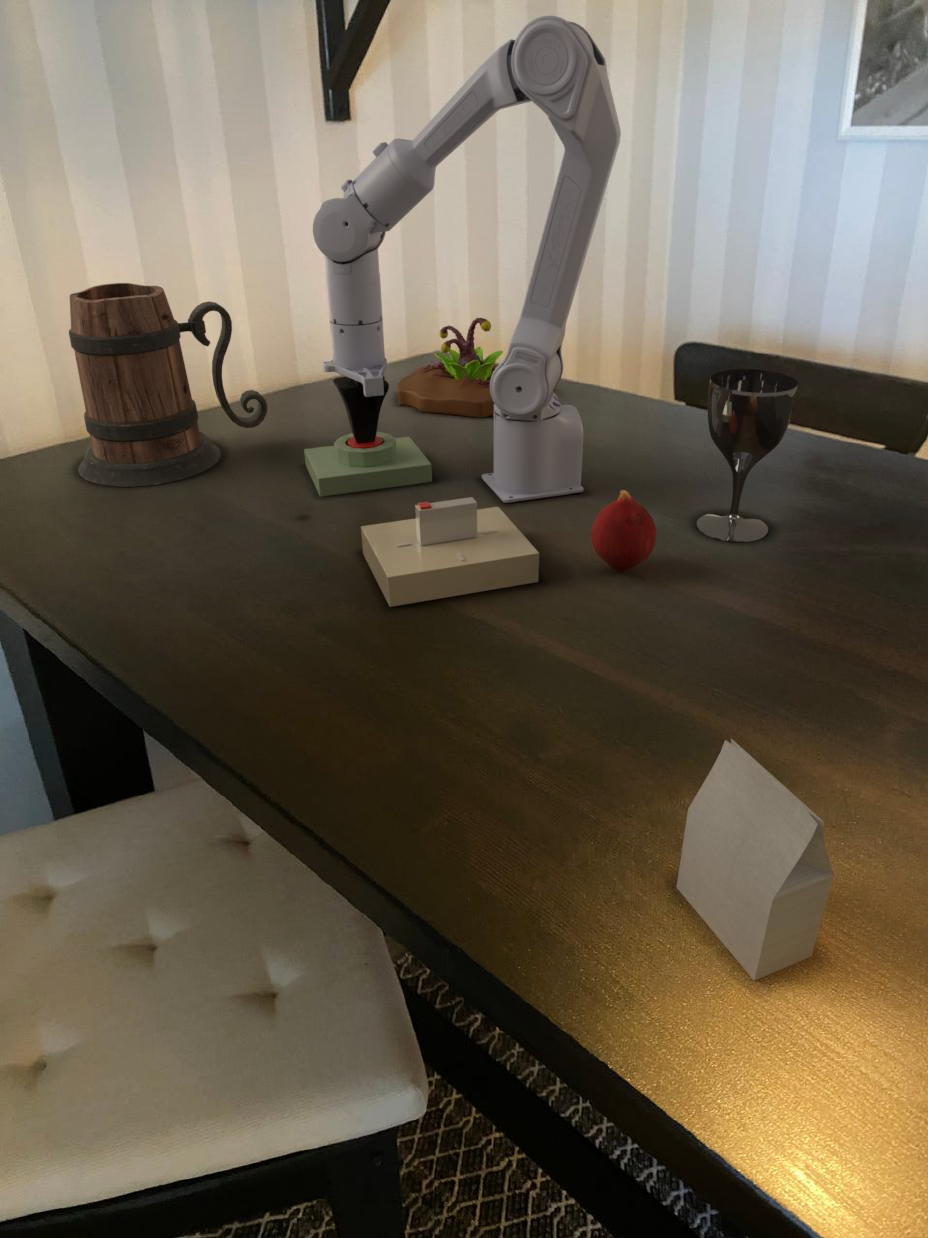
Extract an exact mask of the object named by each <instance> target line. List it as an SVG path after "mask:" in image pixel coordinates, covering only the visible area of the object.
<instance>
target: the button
mask: <svg viewBox="0 0 928 1238" xmlns="http://www.w3.org/2000/svg"><path fill="white" fill-rule="evenodd" d="M382 444H383V440H382V439H381V438H380V437H378V436H376V438H375V441H374V442H367V443H359V444H358V443H357V442H356V440H355V438H354V437H353V438H351V439H349V440H348V446H350V447H353V448H361V449H366V448H374V447H377V446H380V445H382Z"/></svg>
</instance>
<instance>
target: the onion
mask: <svg viewBox="0 0 928 1238" xmlns="http://www.w3.org/2000/svg"><path fill="white" fill-rule="evenodd" d="M590 539H591V545H592V547H593V549H594V551H595V554H596V555H597V556H598V557H599V558H600V559H601V560H602V561H603V562H604V563H605V564H607V566H609V567H610V568H611V569H612V570H613V571H615V572H617V573H623V572H625V571H628V570H631V569H632V568H635V567H637V566H639V565H640V564H642V563H643V562H645V561H646V560H648V558H649V557H650V555H651V554H652V552H653V550H654V548H655V545H656V540H657V527H656V523H655V521H654V519H653V516H652V515H651V514H650V512H649V511H648V510H647V509H646V508H645V507H644V505H642V504H641V503H640V502H639V501H637V500H635V498H634V497H632V496H631V495H630V492H629V491H627V490H625V489H621V490H620V491H619V495H618V498H617V499H616V500H613V501H612V502H610V503H608V505H606V506H605V507H603V508H602V509H601V510H600V512H599V513H598V514H597V516H596V517H595V520H594V521H593V524H592V526H591V531H590Z"/></svg>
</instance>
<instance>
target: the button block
mask: <svg viewBox="0 0 928 1238" xmlns="http://www.w3.org/2000/svg"><path fill="white" fill-rule="evenodd" d="M376 436H378V437H380V438H381V439H382V440H383V444H382V445H380V446H377V447H374V448H366V449H361V448H353V447H350V446H348V440H349V439H351V438H353V437H354V436H353V433H352V432H350V433H347V434H345V435H342V436H339V437H338V438H337V439H336V440H335V441H334V445H327V446H319V447H309V448H304V449H303V453H304V454H303V455H304V462H305V467H306V469H307V472H308V474H309V476H310V478H311V480H312V483H313V484H314V487H315V489H316V491H317V493H318V495H319V497H320V498H323V497H329V496H335V495H337V496H338V495H345V494H352V493H360V492H367V491H374V490H375V491H376V490H381V489H389V488H396V487H397V488H398V487H403V486H412V485H419V484H427V483H432V482H433V466H432V463H431V462H430V460H429V459H428V458H427V457H426V456H425V454H424V452H422V450H421V448H419V447H418V446H417V444H416V443H415V442H414V441H413V439H412V438H411V437H410V436H403V437H394V436H393V435H391V434H389V433H385V432H382V431H377V433H376Z"/></svg>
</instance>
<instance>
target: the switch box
mask: <svg viewBox="0 0 928 1238" xmlns="http://www.w3.org/2000/svg"><path fill="white" fill-rule="evenodd" d="M477 510H478V502H477V501H476V499H474V497H473V496H471V497H462V498H456V499H448V500H441V501H434V502H429V501H422V502H421V501H420V502H417V504H415V506H414V512H415V519H416V534H417V541H418V542H419V544H420V545H421V546H422V545H429V544H435V543H441V542H448V541H454V540H461V539H467V538H473V537H477Z"/></svg>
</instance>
